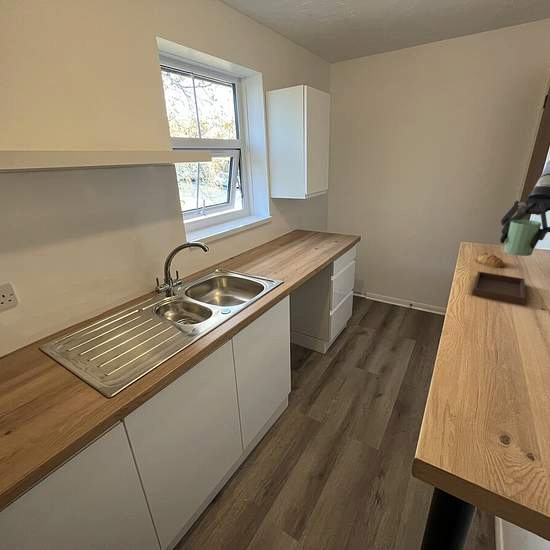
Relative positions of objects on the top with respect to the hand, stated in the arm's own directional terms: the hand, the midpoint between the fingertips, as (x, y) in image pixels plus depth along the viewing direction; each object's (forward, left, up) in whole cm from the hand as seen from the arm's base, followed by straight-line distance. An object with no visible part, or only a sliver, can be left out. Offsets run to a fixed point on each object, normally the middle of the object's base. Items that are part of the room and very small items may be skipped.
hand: (516, 243), depth 105 cm
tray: (+8, +10, -14) cm, 19 cm away
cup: (-2, -2, -4) cm, 5 cm away
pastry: (-1, -17, -14) cm, 22 cm away
